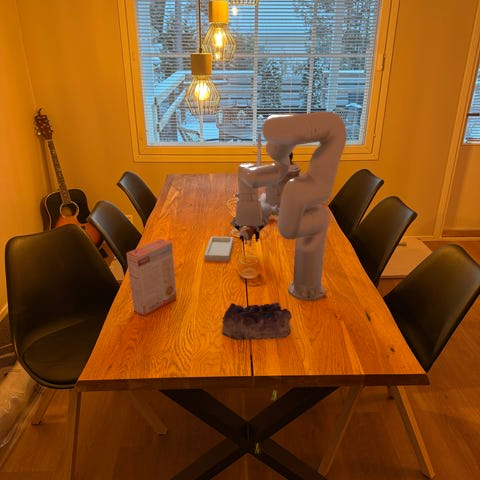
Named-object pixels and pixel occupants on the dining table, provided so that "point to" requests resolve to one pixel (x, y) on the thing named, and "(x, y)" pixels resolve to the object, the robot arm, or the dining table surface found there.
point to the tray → (219, 249)
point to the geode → (256, 322)
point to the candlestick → (259, 150)
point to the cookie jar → (279, 186)
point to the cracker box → (152, 276)
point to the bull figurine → (248, 233)
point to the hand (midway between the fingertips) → (249, 240)
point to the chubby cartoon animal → (269, 211)
